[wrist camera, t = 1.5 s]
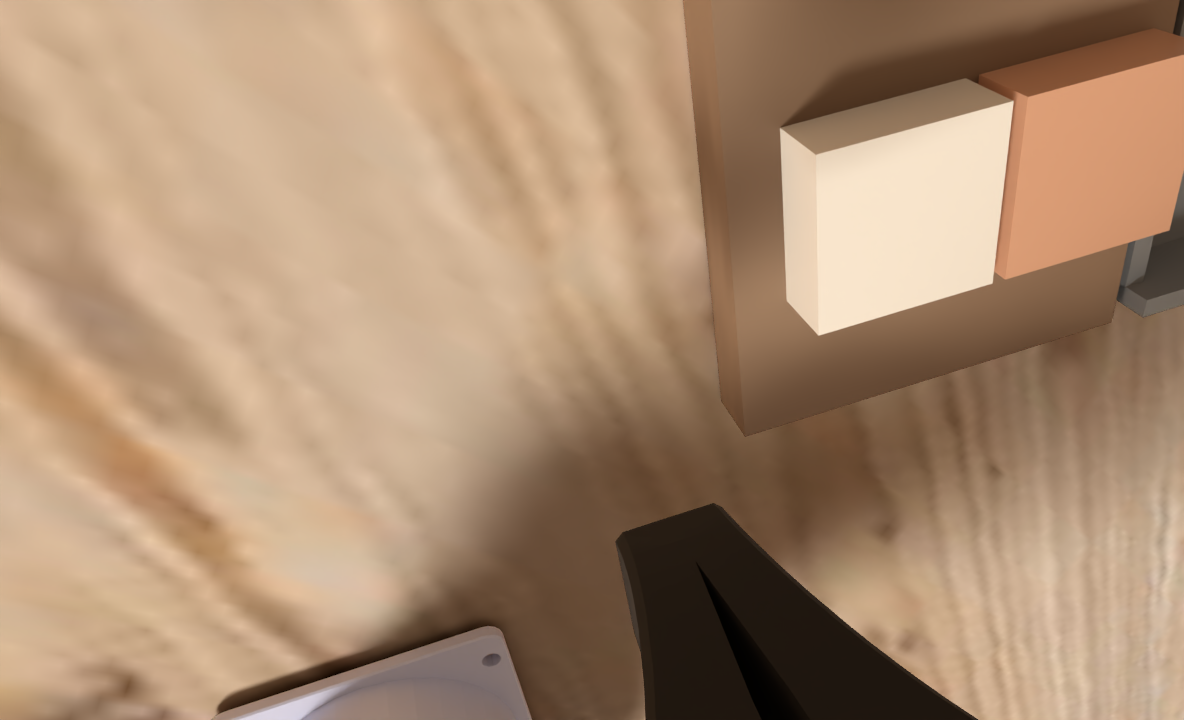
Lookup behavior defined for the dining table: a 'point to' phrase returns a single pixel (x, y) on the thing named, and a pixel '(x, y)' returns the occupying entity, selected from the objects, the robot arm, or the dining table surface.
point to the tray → (1157, 255)
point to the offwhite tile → (893, 203)
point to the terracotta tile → (1090, 149)
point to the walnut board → (837, 83)
